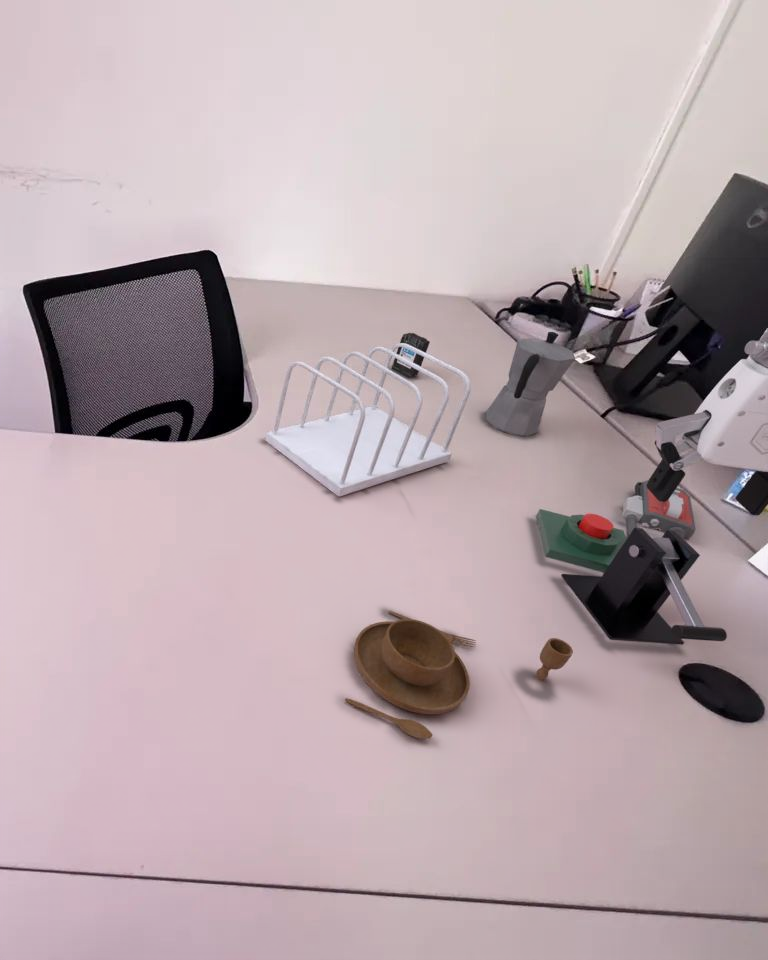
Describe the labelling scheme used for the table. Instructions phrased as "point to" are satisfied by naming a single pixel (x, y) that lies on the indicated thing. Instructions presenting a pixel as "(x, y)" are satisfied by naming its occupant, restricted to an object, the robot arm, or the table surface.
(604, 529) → the button
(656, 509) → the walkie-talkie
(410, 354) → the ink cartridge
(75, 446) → the table surface
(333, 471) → the file sorter
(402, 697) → the place setting
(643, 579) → the bracket
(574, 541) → the control box
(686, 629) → the lever
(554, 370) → the coffeepot
